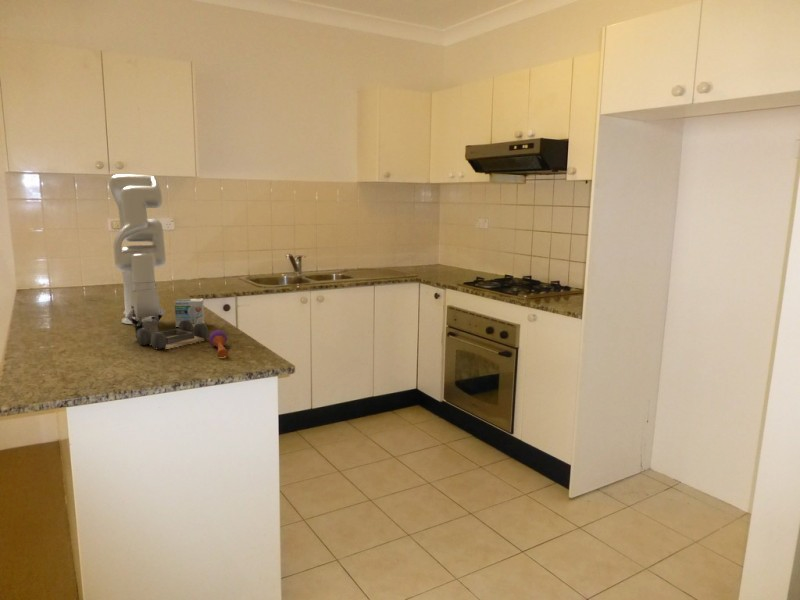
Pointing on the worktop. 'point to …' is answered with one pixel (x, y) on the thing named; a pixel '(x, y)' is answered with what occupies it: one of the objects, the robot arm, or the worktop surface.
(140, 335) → the chassis board
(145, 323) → the grey cube
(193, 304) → the light bulb box
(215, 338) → the purple maraca
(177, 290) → the worktop surface
